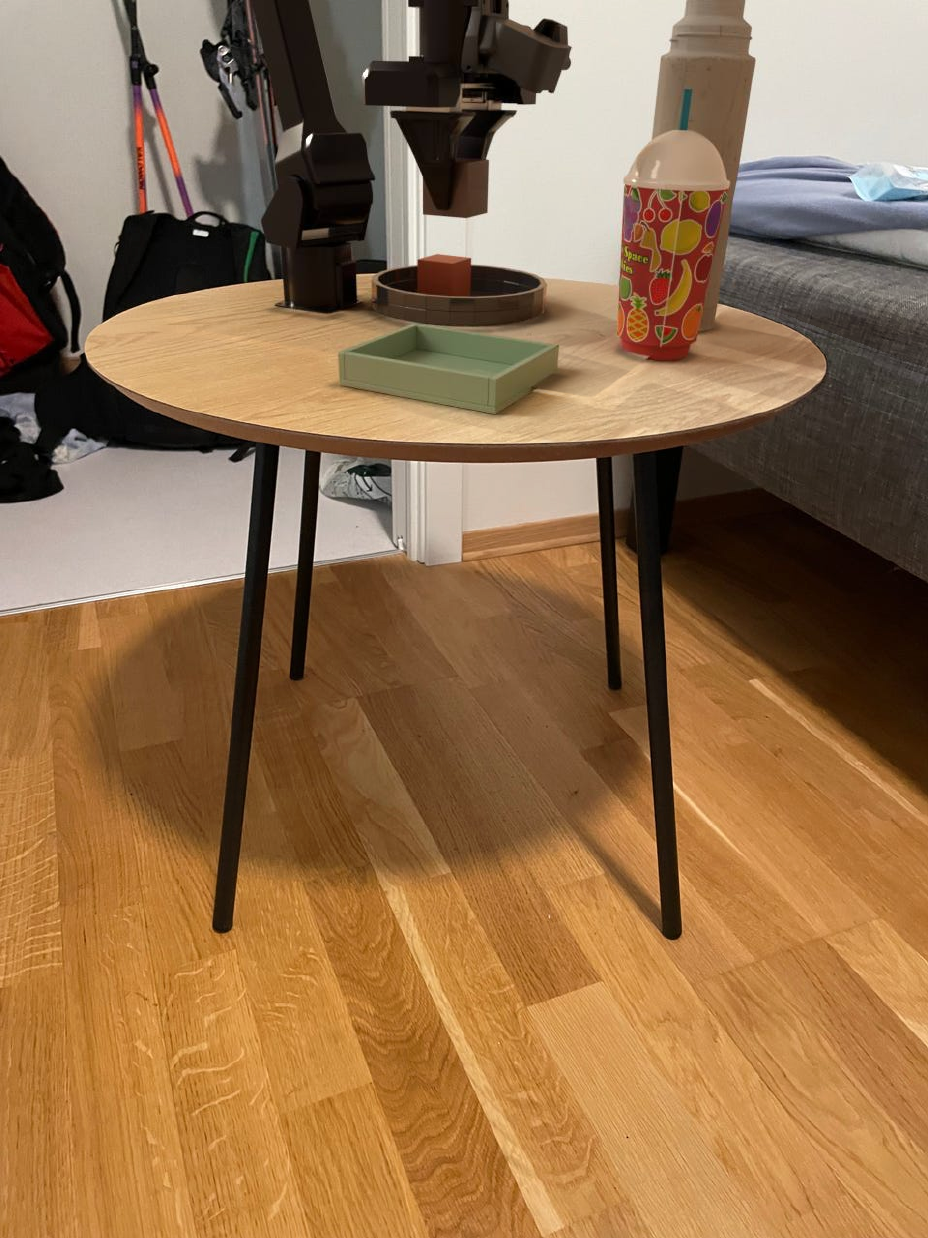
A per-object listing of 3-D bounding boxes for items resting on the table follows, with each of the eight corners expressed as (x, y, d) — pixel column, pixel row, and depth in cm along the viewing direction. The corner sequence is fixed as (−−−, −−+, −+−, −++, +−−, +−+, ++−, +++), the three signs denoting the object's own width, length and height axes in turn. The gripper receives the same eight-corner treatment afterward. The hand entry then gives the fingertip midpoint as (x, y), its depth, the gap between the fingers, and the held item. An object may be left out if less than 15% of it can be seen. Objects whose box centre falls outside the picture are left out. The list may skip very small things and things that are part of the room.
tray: (339, 385, 71) (337, 351, 69) (413, 352, 79) (413, 322, 78) (495, 414, 66) (496, 379, 64) (557, 376, 74) (559, 344, 73)
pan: (338, 315, 90) (337, 283, 89) (426, 286, 104) (426, 258, 102) (498, 340, 84) (499, 305, 82) (570, 305, 97) (572, 275, 95)
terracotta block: (417, 300, 95) (417, 259, 93) (436, 294, 98) (436, 253, 96) (452, 305, 93) (452, 263, 91) (470, 298, 96) (471, 257, 94)
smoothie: (597, 340, 84) (622, 86, 74) (687, 340, 85) (723, 89, 75) (618, 365, 77) (648, 88, 67) (716, 365, 78) (760, 91, 68)
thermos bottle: (704, 314, 95) (754, -19, 80) (722, 333, 88) (780, -27, 74) (626, 312, 95) (662, -21, 80) (637, 331, 88) (679, -30, 74)
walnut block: (422, 214, 76) (422, 159, 74) (445, 209, 79) (445, 156, 77) (466, 218, 74) (467, 162, 72) (487, 212, 77) (489, 159, 75)
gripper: (506, -41, 58) (496, 228, 66) (603, -15, 73) (586, 203, 80) (353, -37, 62) (362, 216, 70) (474, -13, 77) (470, 194, 85)
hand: (454, 206), depth 76 cm, fingers closed on walnut block, 4 cm apart
